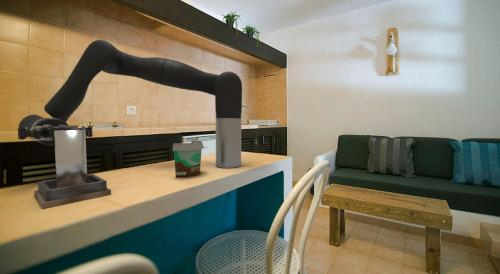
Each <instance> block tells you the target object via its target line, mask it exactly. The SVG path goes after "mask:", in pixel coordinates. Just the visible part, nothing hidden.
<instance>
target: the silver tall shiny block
mask: <svg viewBox="0 0 500 274" xmlns="http://www.w3.org/2000/svg"><path fill="white" fill-rule="evenodd" d="M54 136H55V146H54V152H55V153H54V154H55V155H54V156H55V157H54V158H55V173H56V174H55V175H56V178H55V179H57V188H62V187H68V186H74V185H81V184H87V175H88V168H87V167H88V165H87V142H86V141H87V140H86V138H87V137H85V130H55V131H54Z"/></svg>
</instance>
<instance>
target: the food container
mask: <svg viewBox="0 0 500 274" xmlns="http://www.w3.org/2000/svg"><path fill="white" fill-rule="evenodd" d="M190 141H191V142H182V143H178V142H177V143H175V142H174V143H173V145H172V152H173V158H174V160H173V161H174V171H175V178H177V179H180V178H181V179H182V178H191V177H193V178H194V177H196V176H199V175H201V163H202V150H203V149H204V148H205V147H204V143H203V140H195V139H193V140H190Z"/></svg>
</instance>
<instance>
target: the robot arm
mask: <svg viewBox="0 0 500 274" xmlns="http://www.w3.org/2000/svg"><path fill="white" fill-rule="evenodd" d="M101 72H104V73H106V74H110V75H119V76H126V77H132V78H137V79H142V80H144V81H147V82H150V83H153V84H157V85H162V86H166V87H171V88H173V89H174V88H176V89H181V90H186V91H192V92H193V91H194V92H201V93H205V94H208V95H212V96H215V97H214V100H215V101H214V103H215V104H214V110H215V166H216V167H218V168H225V169H226V168H227V169H228V168H229V169H230V168H231V169H232V168H238V167H241V166H242V113H243V110H242V109H243V83H242V80H241V77H240V76H239V75H238V74H237V73H235V72H233V71H223V72H222V73H220V74H215V73H210V72H206V71H203V70H201V69H198V68H196V67H194V66H192V65H190V64H187V63H185V62H182V61H179V60H176V59H175V60H174V59H170V58H166V57H161V56H160V57H159V56H158V57H154V56H153V57H152V56H151V57H140V56H137V55H132V54H129V53H127V52H123V51H121V50H119V49H118V48H116V46H115V45H113V44H112V43H110V42H109V41H107V40H105V39H96V40H93V41H92V42H90V43H89V44H88V46H87V47H86V48H85V49H84V51H83V53H82V55H81V56H80V58H79V60H78V61H77V63H76V65H74V68H73V70H72V71H71V73H70V74H69V75H68V77H67V79H66V80H65V82H64V83H63V84H62V86H61V87H60V88H59V89H58V91H56V93H55V94H54V95H53V96H51V98H50V99H49V101H48V102H47V103H45V105H44V107H43V109H44V111H45V113H46V114H47V115H49V116H50V117H43V116H40V115H38V114H33V113H32V114H29V115H27V116H25V117H24V118H23V119H21V120H20V122H18V123H19V124H18V127H17V136H18V137H17V139H18V140H21V141H22V140H23V141H24V140H26V139H28V138H29V139H30V140H35V141H36V142H38V143H41V144H42V145H45V146H48V147H49V146H51V147H53V146H54V147H55V136H54V131H55V130H85V137H86V138H87V137H89V138H92V137H93V136H94V134H93V127H91V126H80V127H78V126H77V125H69V123H67V122H68V120H69V119H70V117H71V116H72V115H73V114H74V113H75V111H77V109H78V108H79V107H80V106H81V104H82V103H83V102H84V100H85V97H86V94H87V92H88V88H89V86H90V85H91V83H92V81H93V80H94V78H95V77H97V75H98V74H99V73H101Z"/></svg>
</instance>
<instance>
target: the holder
mask: <svg viewBox="0 0 500 274" xmlns="http://www.w3.org/2000/svg"><path fill="white" fill-rule="evenodd" d="M33 194H34V197H35V199H36V200H37V201H38V204H39V205H40V207H41V208H42V210H44V209H47V208H48V209H49V208H53V207H58V206H62V205H68V204H73V203H77V202H81V201H87V200H92V199H96V198H101V197H105V196H111V195H112V189H110V188H108V184H107V180H105V179H104V178H102V177H100V176H98V175H95V174H94V173H90V174H88V173H87V184H81V185H74V186H68V187H62V188H57V178H55V179H48V180H41V181H37V190H34V191H33Z"/></svg>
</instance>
